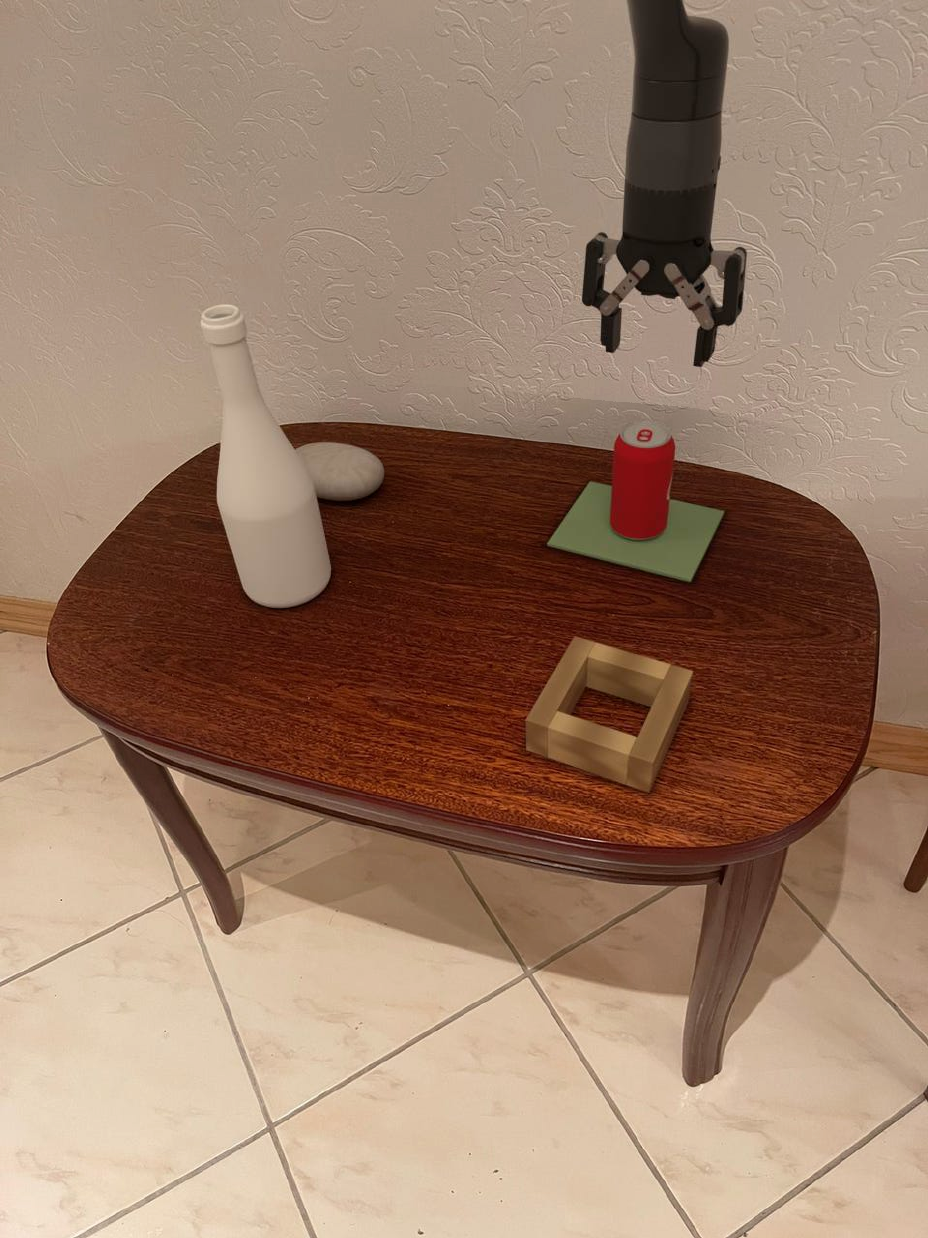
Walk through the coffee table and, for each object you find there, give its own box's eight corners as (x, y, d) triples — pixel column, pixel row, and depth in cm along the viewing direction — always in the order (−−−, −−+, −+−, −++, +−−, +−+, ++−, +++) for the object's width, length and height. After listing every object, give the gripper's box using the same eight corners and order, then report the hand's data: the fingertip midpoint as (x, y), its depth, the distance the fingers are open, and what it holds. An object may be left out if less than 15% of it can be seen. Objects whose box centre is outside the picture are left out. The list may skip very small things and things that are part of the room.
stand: (688, 701, 79) (693, 670, 77) (649, 793, 72) (653, 763, 70) (573, 666, 83) (574, 635, 81) (525, 750, 76) (525, 719, 74)
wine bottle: (320, 546, 100) (263, 280, 79) (343, 596, 93) (287, 320, 73) (236, 569, 97) (156, 302, 77) (254, 622, 91) (171, 346, 70)
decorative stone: (271, 495, 108) (263, 460, 104) (316, 458, 113) (309, 424, 110) (357, 522, 102) (351, 486, 99) (400, 482, 108) (395, 447, 105)
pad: (724, 513, 100) (724, 510, 99) (690, 582, 91) (691, 579, 91) (590, 483, 105) (590, 480, 105) (547, 545, 97) (547, 543, 97)
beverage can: (670, 515, 99) (682, 420, 91) (661, 548, 95) (672, 451, 87) (615, 507, 101) (621, 413, 93) (603, 539, 97) (608, 443, 89)
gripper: (573, 179, 73) (570, 362, 84) (746, 193, 68) (719, 386, 79) (605, 153, 78) (598, 329, 89) (769, 164, 73) (741, 350, 84)
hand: (655, 356), depth 84 cm, fingers open, 8 cm apart
